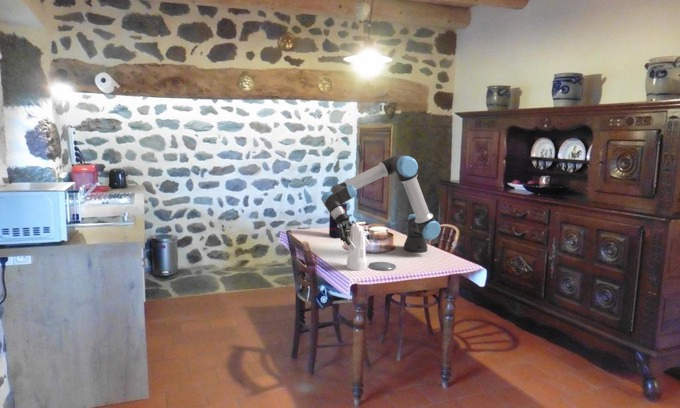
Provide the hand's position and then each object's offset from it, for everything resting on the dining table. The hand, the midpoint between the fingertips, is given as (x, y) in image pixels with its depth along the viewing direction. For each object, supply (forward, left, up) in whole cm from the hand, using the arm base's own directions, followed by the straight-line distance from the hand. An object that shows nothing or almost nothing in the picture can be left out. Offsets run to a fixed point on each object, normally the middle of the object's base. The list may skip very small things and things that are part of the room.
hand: (361, 247), depth 263 cm
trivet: (-11, +7, -12) cm, 18 cm away
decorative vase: (0, -2, -12) cm, 12 cm away
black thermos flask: (-55, -59, -12) cm, 82 cm away
